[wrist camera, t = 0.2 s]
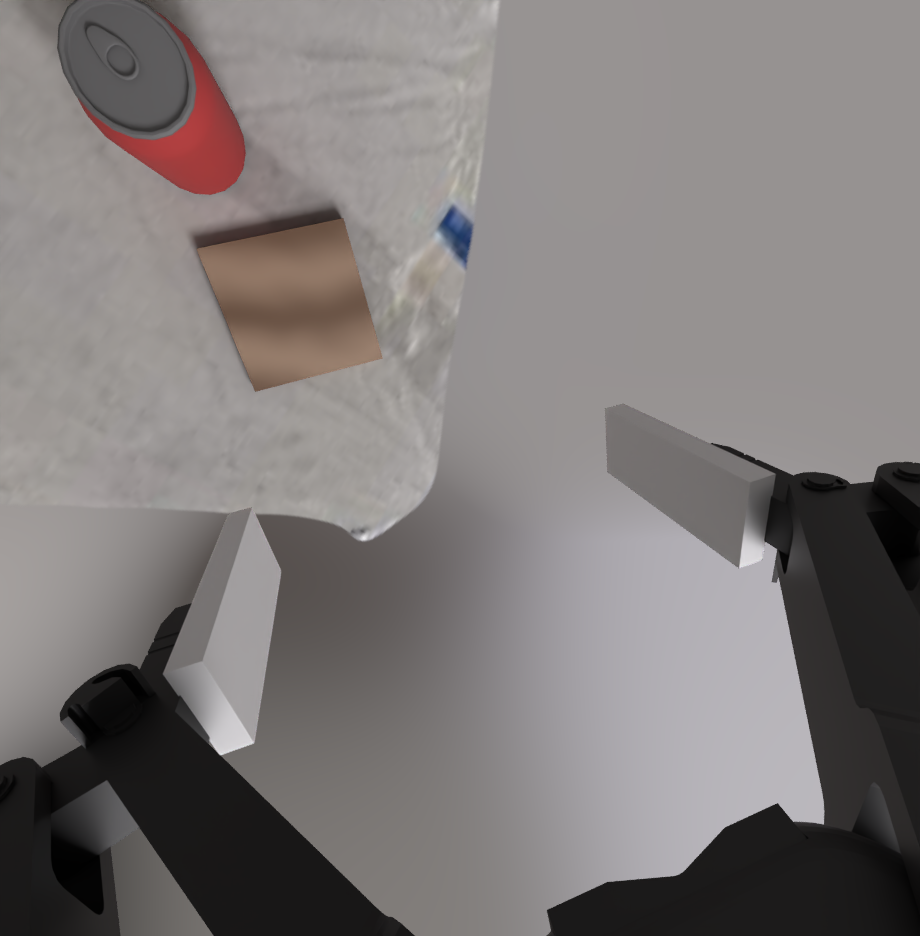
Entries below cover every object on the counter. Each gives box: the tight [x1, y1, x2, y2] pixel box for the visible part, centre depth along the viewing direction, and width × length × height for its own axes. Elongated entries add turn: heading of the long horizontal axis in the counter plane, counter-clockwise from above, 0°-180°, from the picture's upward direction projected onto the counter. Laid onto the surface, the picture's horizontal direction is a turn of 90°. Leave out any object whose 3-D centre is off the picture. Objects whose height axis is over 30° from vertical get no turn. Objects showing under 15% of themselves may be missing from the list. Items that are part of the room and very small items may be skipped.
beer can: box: [57, 0, 246, 195], centre depth 26 cm, size 7×7×12 cm
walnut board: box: [197, 218, 382, 392], centre depth 37 cm, size 11×11×1 cm
